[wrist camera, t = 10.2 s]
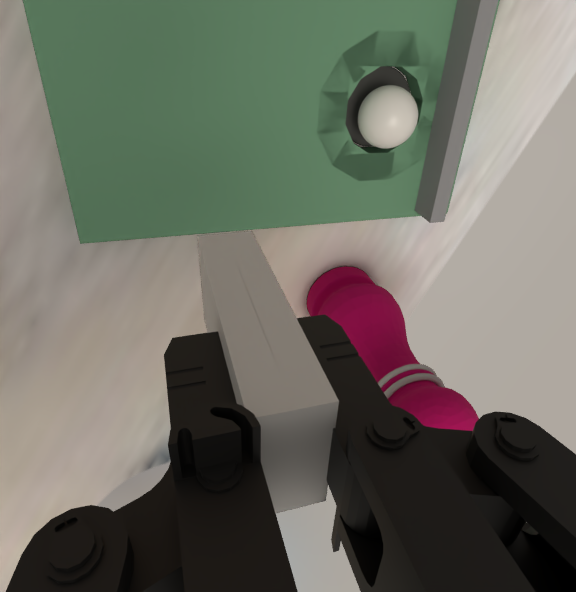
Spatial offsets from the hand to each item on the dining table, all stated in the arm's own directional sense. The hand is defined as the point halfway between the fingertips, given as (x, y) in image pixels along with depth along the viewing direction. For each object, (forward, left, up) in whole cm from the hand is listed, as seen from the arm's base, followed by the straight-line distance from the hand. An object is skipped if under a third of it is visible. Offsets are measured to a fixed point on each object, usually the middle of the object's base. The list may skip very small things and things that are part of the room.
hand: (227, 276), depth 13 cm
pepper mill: (+13, -15, -21) cm, 29 cm away
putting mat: (+7, +1, -20) cm, 21 cm away
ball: (+14, 0, -18) cm, 23 cm away
